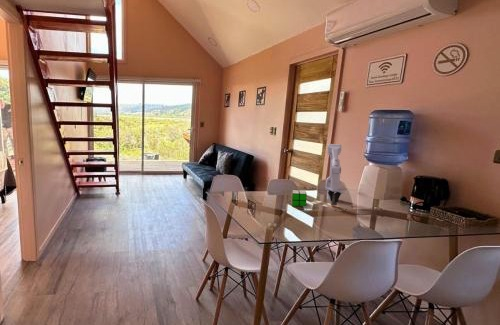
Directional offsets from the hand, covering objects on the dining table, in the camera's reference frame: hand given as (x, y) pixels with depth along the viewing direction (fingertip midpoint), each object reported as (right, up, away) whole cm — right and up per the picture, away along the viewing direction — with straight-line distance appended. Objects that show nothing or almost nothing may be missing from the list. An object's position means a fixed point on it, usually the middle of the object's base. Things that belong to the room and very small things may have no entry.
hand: (334, 201), depth 212 cm
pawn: (0, -2, 0) cm, 2 cm away
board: (-3, -4, +4) cm, 7 cm away
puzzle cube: (-24, -4, +6) cm, 25 cm away
